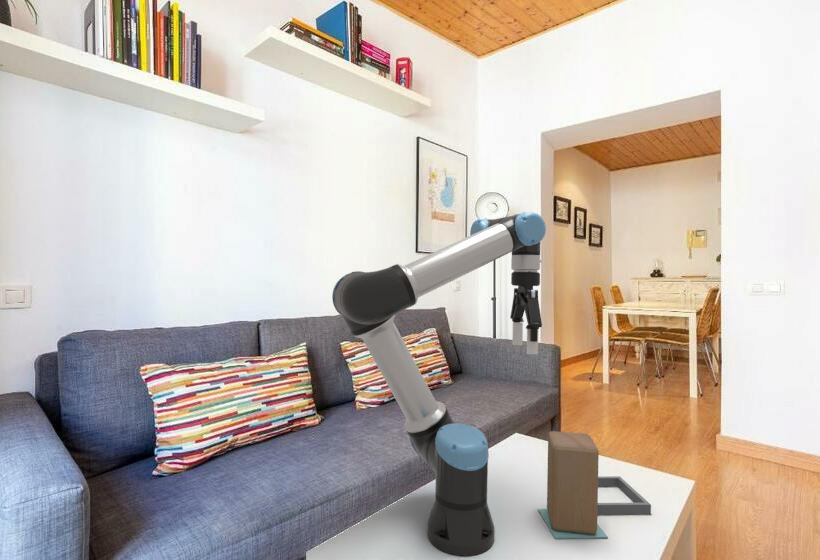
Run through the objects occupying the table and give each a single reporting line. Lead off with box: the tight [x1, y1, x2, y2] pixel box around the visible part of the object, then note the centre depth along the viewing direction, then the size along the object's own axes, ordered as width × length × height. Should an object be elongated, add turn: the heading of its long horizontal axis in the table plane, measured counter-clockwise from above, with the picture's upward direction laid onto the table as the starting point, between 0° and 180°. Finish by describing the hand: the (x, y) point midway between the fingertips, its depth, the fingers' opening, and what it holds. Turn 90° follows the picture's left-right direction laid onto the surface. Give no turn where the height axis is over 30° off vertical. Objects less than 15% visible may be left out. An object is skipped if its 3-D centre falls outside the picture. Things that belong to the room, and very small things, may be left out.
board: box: [537, 507, 609, 540], centre depth 105 cm, size 12×12×1 cm
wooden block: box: [546, 430, 600, 534], centre depth 104 cm, size 10×10×20 cm
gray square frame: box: [597, 475, 652, 516], centre depth 116 cm, size 15×15×2 cm
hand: (524, 349), depth 120 cm, fingers open, 13 cm apart
